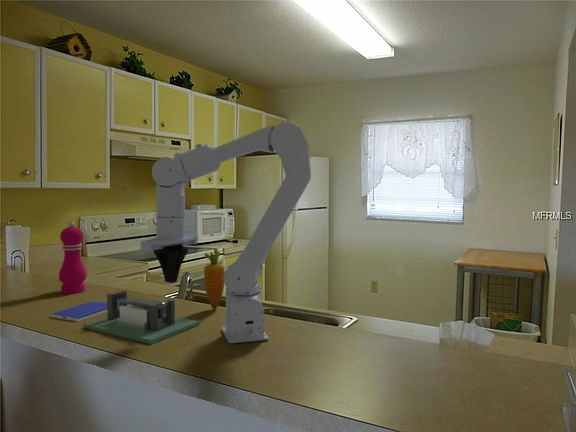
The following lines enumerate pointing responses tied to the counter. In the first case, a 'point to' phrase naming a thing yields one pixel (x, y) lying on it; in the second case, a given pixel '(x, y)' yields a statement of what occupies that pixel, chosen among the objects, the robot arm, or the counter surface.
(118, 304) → the metal bar
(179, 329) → the motherboard
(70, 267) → the pepper mill
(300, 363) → the counter surface
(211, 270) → the carrot
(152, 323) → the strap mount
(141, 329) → the heat sink
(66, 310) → the hard drive
